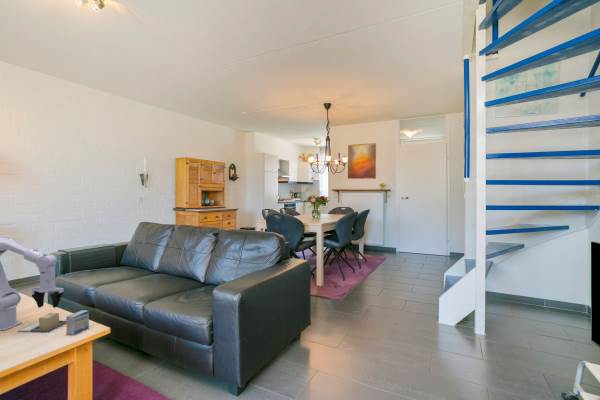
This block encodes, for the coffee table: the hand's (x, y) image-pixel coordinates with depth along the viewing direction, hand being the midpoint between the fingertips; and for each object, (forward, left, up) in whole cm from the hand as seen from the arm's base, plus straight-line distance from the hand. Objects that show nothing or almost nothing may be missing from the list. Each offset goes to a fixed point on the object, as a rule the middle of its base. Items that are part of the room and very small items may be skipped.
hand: (48, 306), depth 145 cm
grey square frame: (+2, -2, -10) cm, 10 cm away
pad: (-6, -2, -10) cm, 11 cm away
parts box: (+2, -2, -10) cm, 10 cm away
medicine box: (+19, -5, -10) cm, 22 cm away
